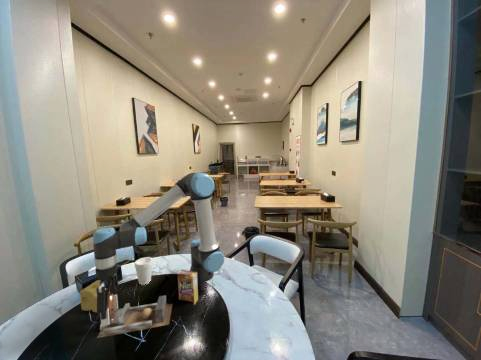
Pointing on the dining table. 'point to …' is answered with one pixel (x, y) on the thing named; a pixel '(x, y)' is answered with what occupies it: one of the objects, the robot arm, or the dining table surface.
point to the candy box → (188, 286)
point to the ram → (116, 314)
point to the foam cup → (144, 270)
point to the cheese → (90, 297)
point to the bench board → (136, 320)
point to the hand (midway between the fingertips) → (110, 316)
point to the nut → (146, 313)
